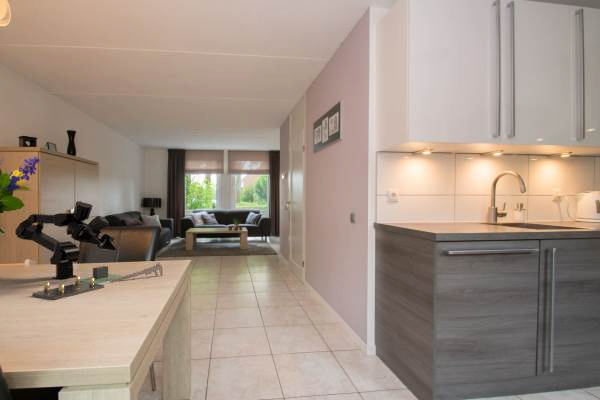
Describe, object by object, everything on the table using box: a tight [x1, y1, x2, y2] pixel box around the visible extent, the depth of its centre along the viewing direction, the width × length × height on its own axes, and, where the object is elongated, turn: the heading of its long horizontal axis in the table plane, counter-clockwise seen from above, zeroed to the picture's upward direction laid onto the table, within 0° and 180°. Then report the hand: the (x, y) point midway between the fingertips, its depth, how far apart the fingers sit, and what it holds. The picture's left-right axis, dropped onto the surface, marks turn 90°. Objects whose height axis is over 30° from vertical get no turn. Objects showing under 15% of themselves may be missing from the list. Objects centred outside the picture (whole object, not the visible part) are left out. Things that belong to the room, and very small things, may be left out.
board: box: [80, 265, 124, 284], centre depth 146 cm, size 11×14×6 cm
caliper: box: [109, 261, 164, 283], centre depth 148 cm, size 20×1×6 cm, turn 127°
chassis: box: [31, 275, 105, 301], centre depth 127 cm, size 12×18×4 cm, turn 156°
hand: (107, 246), depth 141 cm, fingers open, 9 cm apart
